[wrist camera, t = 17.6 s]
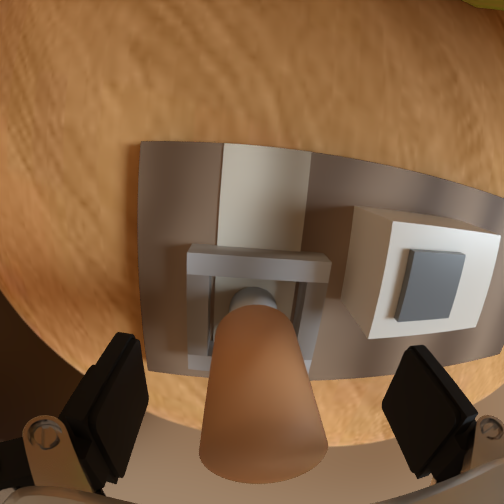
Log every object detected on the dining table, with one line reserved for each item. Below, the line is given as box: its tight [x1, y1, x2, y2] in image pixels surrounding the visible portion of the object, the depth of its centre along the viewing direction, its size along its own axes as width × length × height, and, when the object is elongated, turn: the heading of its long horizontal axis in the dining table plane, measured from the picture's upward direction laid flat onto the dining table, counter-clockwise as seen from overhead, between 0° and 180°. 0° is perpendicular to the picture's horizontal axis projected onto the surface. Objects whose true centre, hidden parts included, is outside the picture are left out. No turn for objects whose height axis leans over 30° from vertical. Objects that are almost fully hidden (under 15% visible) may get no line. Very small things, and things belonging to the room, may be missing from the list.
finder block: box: [340, 206, 501, 339], centre depth 12 cm, size 7×5×4 cm
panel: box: [138, 141, 504, 381], centre depth 15 cm, size 29×13×3 cm, turn 85°
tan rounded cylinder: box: [199, 287, 328, 484], centre depth 11 cm, size 3×3×9 cm
